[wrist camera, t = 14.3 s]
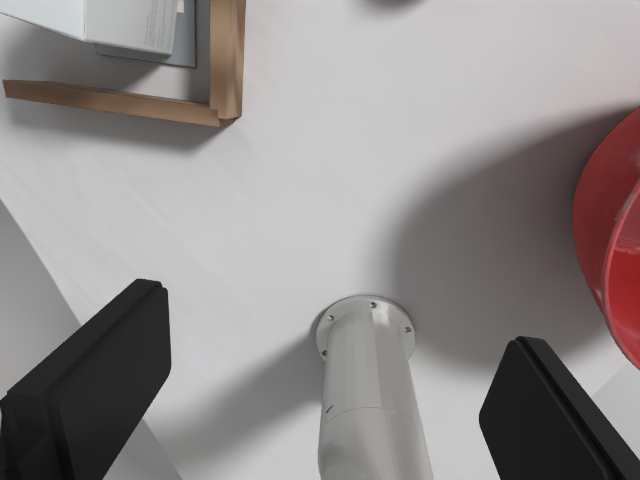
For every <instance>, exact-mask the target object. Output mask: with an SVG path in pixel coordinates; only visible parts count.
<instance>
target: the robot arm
mask: <svg viewBox="0 0 640 480" xmlns="http://www.w3.org/2000/svg"><path fill="white" fill-rule="evenodd" d="M372 302H374V303H372ZM415 342H416V339H415V331H414V327H413V324H412V322H411V320H410V318H409V317H408V315H407V314H406V313H405V311H404V310H402V309H401V308H400V307H399V306H398V305H396V304H395V303H393V302H391V301H389V300H387V299H384V298H381V297H376V296H370V295H360V296H353V297H349V298H346V299H343V300H341V301H339V302H337V303H335V304H334V305H332V306H331V307H330V308H329V309H327V311H326V312H325V313H324V314H323V315H322V317H321V319H320V321H319V323H318V327H317V331H316V346H317V349H318V352H319V354H320V356H321V357H322V359H323V360H324V362H325V363H326V365H325V376H324V387H323V398H322V410H321V421H320V432H319V443H318V467H319V473H320V477H321V480H434V476H433V472H432V468H431V463H430V459H429V454H428V450H427V445H426V441H425V436H424V431H423V427H422V422H421V418H420V413H419V409H418V404H417V400H416V395H415V391H414V386H413V381H412V377H411V372H410V368H409V363H408V360H409V359H410V357H411V356H412V354H413V351H414V348H415ZM170 370H171V345H170V325H169V305H168V291H167V289H166V288H163V287H162V284H161V282H159V281H153V280H146V279H136V280H135V281H134V282H132V283H131V284H130V285H129V286H128V287H127V288H125V289H124V290H123V291H122V292H121V293H120V294H119V295H117V296H116V297H115V298H114V299H113V300H112V301H111V302H109V303H108V304H107V305H106V306H105V307H104V308H103V309H101V310H100V311H99V312H98V313H97V314H96V315H94V316H93V317H92V318H91V319H90V320H89V321H88V322H86V323H85V324H84V325H83V326H82V327H81V328H80V329H78V330H77V331H76V332H75V333H74V334H73V335H72V336H70V337H69V338H68V339H67V340H66V341H65V342H63V344H61V345H60V346H59V347H58V348H57V349H56V350H54V351H53V352H52V353H51V354H50V355H49V356H47V357H46V358H45V359H44V360H43V361H42V362H41V363H39V364H38V365H37V366H36V367H35V368H34V369H33V370H31V371H30V372H29V373H28V374H27V375H26V376H25V377H23V378H22V379H21V380H20V381H19V382H18V383H16V384H15V385H14V386H13V387H12V388H11V389H10V390H8V391H7V395H6V396H5V397H4V398H2V399H1V400H0V480H102V479H103V478H104V476H105V475H106V473H107V471H108V470H109V468H110V467H111V465H112V464H113V462H114V460H115V459H116V457H117V456H118V454H119V453H120V451H121V450H122V448H123V447H124V445H125V443H126V442H127V440H128V439H129V437H130V435H131V434H132V432H133V431H134V429H135V428H136V426H137V425H138V423H139V422H140V420H141V418H142V417H143V415H144V414H145V412H146V411H147V409H148V407H149V406H150V404H151V403H152V401H153V400H154V398H155V397H156V395H157V393H158V392H159V390H160V389H161V387H162V386H163V384H164V382H165V381H166V379H167V378H168V376H169V373H170ZM479 424H480V428H481V430H482V433H483V436H484V438H485V441H486V443H487V446H488V448H489V451H490V454H491V456H492V459H493V461H494V464H495V466H496V469H497V471H498V474H499V477H500V479H501V480H640V460H639V459H638V458H637V456H636V455H635V454H634V452H633V451H632V450H631V449H630V448H629V446H628V445H627V444H626V442H625V441H624V440H623V439H622V437H621V436H620V435H619V434H618V432H617V431H616V430H615V428H614V427H613V426H612V425H611V423H610V422H609V421H608V420H607V418H606V417H605V416H604V414H603V413H602V412H601V411H600V409H599V408H598V407H597V406H596V404H595V403H594V402H593V401H592V399H591V398H590V397H589V395H588V394H587V393H586V392H585V390H584V389H583V388H582V387H581V385H580V384H579V383H578V382H577V380H576V379H575V378H574V377H573V375H572V374H571V373H570V371H569V370H568V369H567V368H566V366H565V365H564V364H563V363H562V361H561V360H560V359H559V358H558V356H557V355H556V354H555V352H554V351H553V350H552V349H551V347H550V346H549V345H548V344H547V342H546V341H544V340H542V339H538V338H531V337H525V336H518V337H517V338H516V339H515V340H512V341H510V342H509V343H508V345H507V347H506V350H505V352H504V355H503V357H502V360H501V362H500V364H499V367H498V369H497V372H496V374H495V376H494V379H493V381H492V384H491V386H490V389H489V391H488V393H487V396H486V398H485V401H484V403H483V405H482V408H481V410H480V413H479Z"/></svg>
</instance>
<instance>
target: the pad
mask: <svg viewBox="0 0 640 480" xmlns="http://www.w3.org/2000/svg"><path fill="white" fill-rule="evenodd" d="M95 47H96V54H101V55H109V56H116V57H123V58H131V59H138V60H145V61H153V62H160V63H168V64H175V65H182V66H190V67H196V9H195V0H178V5H177V15H176V24H175V33H174V42H173V50H172V55H164V54H158V53H151V52H145V51H139V50H133V49H128V48H122V47H116V46H110V45H105V44H99V43H95Z"/></svg>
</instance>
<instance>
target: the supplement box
mask: <svg viewBox="0 0 640 480" xmlns="http://www.w3.org/2000/svg"><path fill="white" fill-rule="evenodd" d="M177 5H178V0H0V13H2V14H5V15H7V16H10V17H13V18H16V19H19V20H22V21H25V22H28V23H30V24H33V25H36V26H39V27H42V28H44V29H47V30H50V31H53V32H56V33H59V34H62V35H64V36H67V37H70V38H73V39H76V40H79V41H82V42H90V43H99V44H105V45H110V46H116V47H122V48H128V49H133V50H139V51H145V52H151V53H158V54H164V55H172V50H173V42H174V33H175V24H176V15H177Z"/></svg>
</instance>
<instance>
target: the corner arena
mask: <svg viewBox="0 0 640 480" xmlns="http://www.w3.org/2000/svg"><path fill="white" fill-rule="evenodd" d="M245 7H246V0H210V104H207V103H199V102H192V101H185V100H178V99H170V98H163V97H156V96H149V95H141V94H134V93H127V92H120V91H113V90H105V89H98V88H91V87H84V86H76V85H69V84H62V83H55V82H47V81H26V80H3V84H4V89H5V94H6V97H8V98H16V99H23V100H30V101H37V102H44V103H51V104H59V105H66V106H73V107H80V108H87V109H94V110H102V111H109V112H116V113H123V114H130V115H137V116H144V117H152V118H159V119H166V120H173V121H180V122H187V123H195V124H202V125H209V126H216V127H219V126H223V125H227V124H230V123H234V117H239V116H242V89H243V61H244V34H245Z"/></svg>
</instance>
